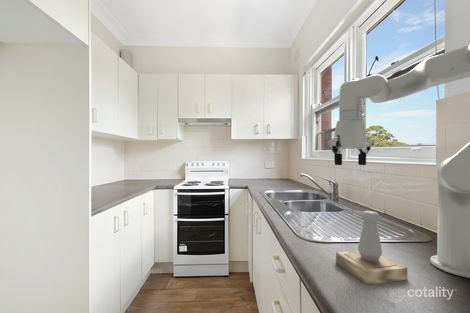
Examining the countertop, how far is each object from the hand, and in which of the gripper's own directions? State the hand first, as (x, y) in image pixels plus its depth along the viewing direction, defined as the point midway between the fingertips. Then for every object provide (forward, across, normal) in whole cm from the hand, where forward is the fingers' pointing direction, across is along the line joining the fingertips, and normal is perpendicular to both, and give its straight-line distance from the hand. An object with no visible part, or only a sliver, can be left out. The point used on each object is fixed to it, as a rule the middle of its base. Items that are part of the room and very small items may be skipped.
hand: (350, 164), depth 83 cm
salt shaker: (+25, +8, +18) cm, 32 cm away
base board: (+28, +8, +18) cm, 34 cm away
